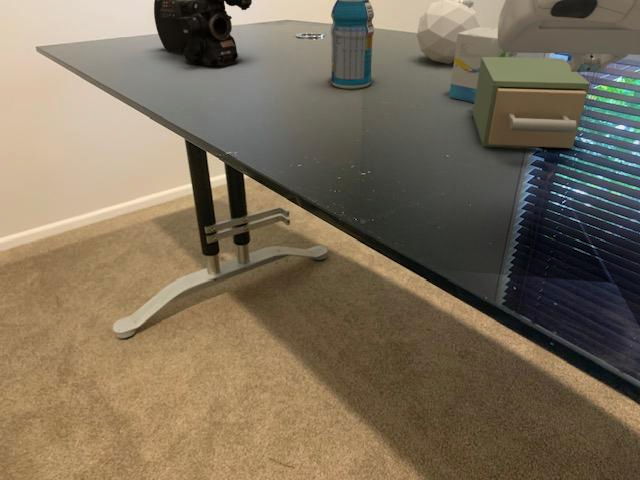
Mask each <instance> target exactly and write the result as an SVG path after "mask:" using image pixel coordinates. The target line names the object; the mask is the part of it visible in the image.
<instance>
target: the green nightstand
mask: <svg viewBox="0 0 640 480" xmlns="http://www.w3.org/2000/svg"><path fill="white" fill-rule="evenodd" d="M590 86H591V82H589V81H588V79H586V78H585V77H584V76H583V75H582V74H580V72H571V64H570V63H569V62H567V61H566V60H565V59H564V58H553V57H552V58H551V57H517V58H511V57H481V64H480V70H479V77H478V83H477V90H476V96H475V103H474V102H473V110H472V116H473V120H474V123H475V126H476V130H477V132H478V133H477V134H478V136H479V139H480V142H481V145H482V147H488V148H489V147H490V148H510V149H512V148H513V149H534V150H540V148H541V147H535V146H512V145H490V144H489V142H488V140H489V134H490V129H491V123H492V117H493V112H494V106H495V100H496V95H497V89H498V88H499V87H527V88H561V89H576V91H585V92H586V93H587V95H586V99H585V103H584V107H583V110H582V114H581V118H580V121H579V125H578V129H577V132H576V136H575V140H574V143H573V146H574V145H575V141H576V138H577V134H578V131H579V126H580V123H581V119H582V115H583V112H584V108H585V104H586V101H587V97H588V93H589V89H590Z"/></svg>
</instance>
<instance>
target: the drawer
mask: <svg viewBox="0 0 640 480" xmlns="http://www.w3.org/2000/svg"><path fill="white" fill-rule="evenodd" d="M586 95H587V96H588V94H587V93H586V92H585V91H576V89H561V88H527V87H499V88H498V89H497V95H496V100H495V106H494V112H493V117H492V123H491V129H490V134H489V140H488V142H489V144H490V145H512V146H535V147H539V148H561V149H573V148H574V145H573V143H574V144H575V141H576V138H575V136H576V137H577V134H576V132H577V133H578V130H579V127H578V125H579V126H580V123H579V121H580V122H581V119H582V116H581V114H582V115H583V112H582V110H583V111H584V108H585V105H584V103H585V104H586V101H585V99H586V100H587V97H586ZM583 107H584V108H583ZM580 118H581V119H580ZM577 129H578V130H577ZM574 140H575V141H574Z"/></svg>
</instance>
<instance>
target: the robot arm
mask: <svg viewBox="0 0 640 480" xmlns="http://www.w3.org/2000/svg"><path fill="white" fill-rule="evenodd" d="M498 16H499V17H498V21H497V28H498V45H499V47H500V48H501V49H502V50H503V51H504V52H508V53H517V54H519V53H520V54H570V55H571V56H570V57H571V58H570V65H571V72H578V73H602V72H603V71H604V69H606V67H607V66H608V65H611V64H613V63H615V62H618V61H620V60H622V59H625V58H627V57H628V55H630V56H631V55H634V56H635V55H636V56H638V55H639V56H640V0H504V2H503V5H502V8H501V10H500V13H499V15H498Z"/></svg>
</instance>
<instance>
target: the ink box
mask: <svg viewBox="0 0 640 480" xmlns="http://www.w3.org/2000/svg"><path fill="white" fill-rule="evenodd" d="M481 57H511V58H518V53H508V52H504V51H503V50H502V49H501V48H500V47H499V45H498V27H492V26H490V27H489V26H487V27H484V26H480V27H477V28H473V29H470V30H467V31H463V32H460V33H458V36H457V43H456V51H455V58H454V62H453V65H452V66H453V67H452V74H451V80H450V87H449V95H448V97H449V98H451V99H457V100H460V101H461V100H462V101H466V102H470V103H473V104H474V103H475V96H476V90H477V83H478V77H479V70H480V64H481Z"/></svg>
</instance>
